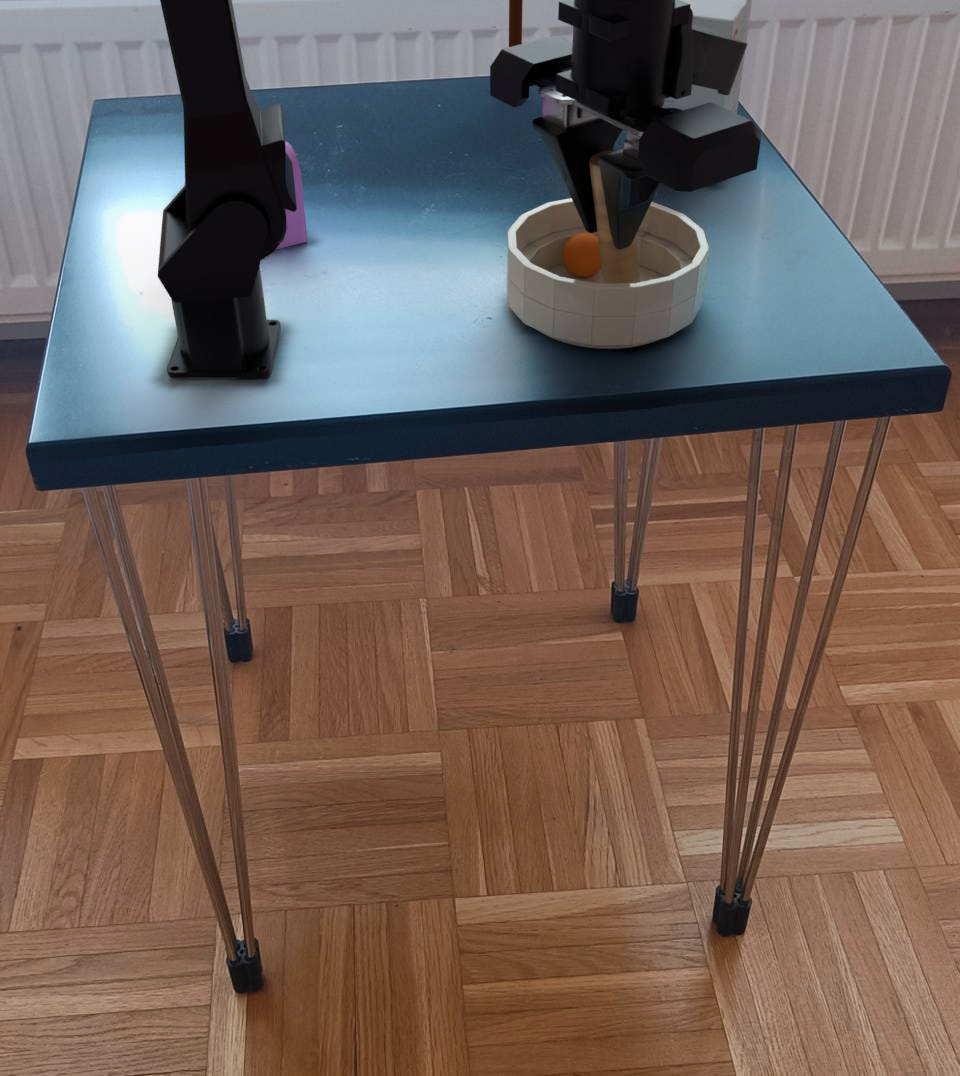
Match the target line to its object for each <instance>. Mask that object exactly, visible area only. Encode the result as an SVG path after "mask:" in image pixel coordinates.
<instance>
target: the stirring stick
mask: <svg viewBox="0 0 960 1076" xmlns="http://www.w3.org/2000/svg"><path fill="white" fill-rule="evenodd" d="M618 150H619V149H618ZM618 150H617V149H616V150H615V149H613V150H610V151H604V152H600V153H597V154H595V155H593V156H592V157H591V158H590V159H589V167H590V175H591V183H592V192H593V200H594V208H595V216H596V225H597V233H598V241H599V250H600V258H601V266H602V275H603V283H638V282H640V275H639V265H638V255H637V245H636V236H635V238H634V240H633V242H632V244H631V245H630V246H629V247H627V248H624V249H621V250H618V249H616V248H615V247H614V243H613V239H612V236H611V232H610V227H609V221H608V215H607V209H606V203H605V197H604V191H603V184H602V179H601V173H600V167H599V161H598V157H599V156H602V155H605V154H608V153H611V152H615V151H618Z"/></svg>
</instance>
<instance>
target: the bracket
mask: <svg viewBox="0 0 960 1076" xmlns="http://www.w3.org/2000/svg"><path fill="white" fill-rule="evenodd" d="M285 144H286V153H287V155H288V157H289V158H290V160H291V161H292V165H293V175H294V185H295V195H296V205H297V210H296V211H295V212H292V211H290V210H287V209H286V234H285V237H284V240H283V242H281V243H280V244H279V246H278V247H277V248H276V249H275V251H276V250H280V249H285V248H288V247H291V246H296V245H300V244H305V243H307V242H308V232H307V223H306V213H305V212H306V211H305V203H304V193H303V191H304V190H303V182H302V173H301V168H300V163H299V160H298V157H297V154H296V152H295V150H294V148H293V146H292V145H291V144H290V143H289V142H288V141H286V140H285ZM184 186H185V182H184V183H183V187H184Z"/></svg>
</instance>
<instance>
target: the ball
mask: <svg viewBox="0 0 960 1076" xmlns="http://www.w3.org/2000/svg"><path fill="white" fill-rule="evenodd" d="M563 260H564V264H565V266H566V267H567V269H568V270H569V271H570V272H571V273H573V274H574V275H576V276H580V277H588V276H592V275H594V274H596V273H597V272H598V271H599V270H600V269H601V268H602V266H601V258H600V250H599V241H598V237H597V236H595V235H593V234H591V233H579V234H576V235H574V236H573V237H571V238H570V239H569V240H568V241H567V243H566V245H565V247H564V250H563Z"/></svg>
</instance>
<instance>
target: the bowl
mask: <svg viewBox="0 0 960 1076" xmlns="http://www.w3.org/2000/svg"><path fill="white" fill-rule="evenodd" d="M579 233H589V232H587V231H586V229H585V227H584V225H583V223H582V220H581V218H580V216H579V214H578V211H577V209H576V207H575V205H574V202H573V200H572V198H571V197H570V198H563V199H559V200H553V201H548V202H545V203H543V204H541V205H539V206H536V207H534V208H533V209H531V210H528V211H527V212H524V213H521V214H520V216H518V218H516V220H515V221H514V222H513V224H511V226H510V227H509V228H508V229H507V232H506V304H507V306H508V307H509V309H510V310H512V312H513V313H514V314H515V315H516V316H517V318H518V319H520V321H521V322H522V323H523V324H524V325H526V326H527V327H530V328H532V329H534V330H536V331H538V332H539V333H541V334H542V335H544V336H546V337H548V338H550V339H552V340H556V341H558V342H561V343H564V344H568V345H572V346H577V347H582V348H589V349H598V350H599V349H600V350H601V349H604V350H614V349H616V350H617V349H619V350H620V349H628V348H629V349H630V348H634V347H635V348H636V347H641V346H644V345H648V344H652V343H654V342H657V341H660V340H662V339H666V338H669V337H671V336H672V335H674V334H676V333H677V332H679V331H681V330H683V329H684V328H686V327H687V326H689V325H691V324H692V323H693V322H694V320H695V318H696V316H698V315H697V314H698V313H699V311H700V309H701V307H702V305H703V303H704V301H703V300H704V294H705V293H704V292H705V285H706V277H707V271H708V270H707V269H708V262H709V255H710V254H709V253H710V245H709V243H708V239H707V237H706V236H707V235H706V233H705V230H704V229H703V228H702V227H701V226H700V225H699V224H697V223H696V222H694V221H693V220H692V219H691V218H690V217H688V216H687V215H686V214H684V213H682V212H680V211H678V210H675V209H673V208H670V207H667V206H665V205H663V204H659V203H657V202H654V201H652V202H651V204H650V206H649V208H648V211H647V213H646V215H645V217H644V219H643V221H642V223H641V225H640V227H639V229H638V231H637V234H636V245H637V255H638V265H639V275H640V282H638V283H603V275H602V268H601V269H600V270H599V271H598V272H597V273H596V274H594V275H592V276H588V277H580V276H576V275H574V274H573V273H571V272H570V271H569V270H568V269H567V267H566V266H565V264H564V260H563V250H564V247H565V245H566V243H567V241H568V240H569V239H570V238H571V237H573V236H574V235H576V234H579ZM591 234H593V235H595V236H597V237H598V233H597V232H595V233H591Z"/></svg>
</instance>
